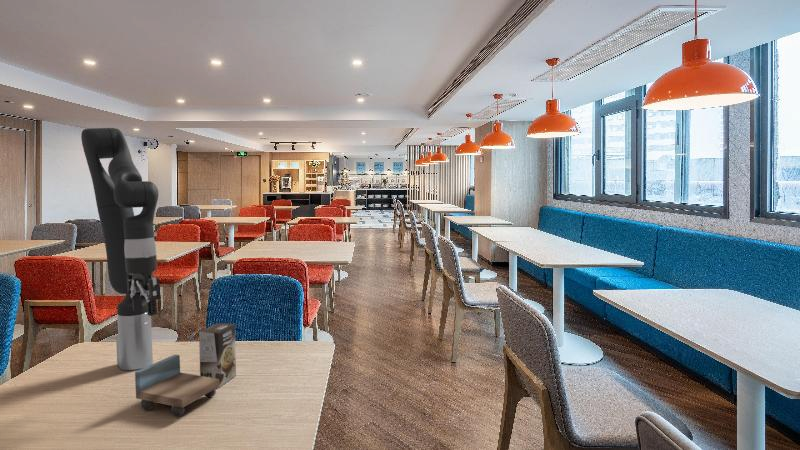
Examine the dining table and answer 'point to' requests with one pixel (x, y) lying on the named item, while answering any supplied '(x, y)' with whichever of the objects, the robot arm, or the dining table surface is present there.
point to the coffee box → (218, 352)
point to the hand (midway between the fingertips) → (144, 312)
